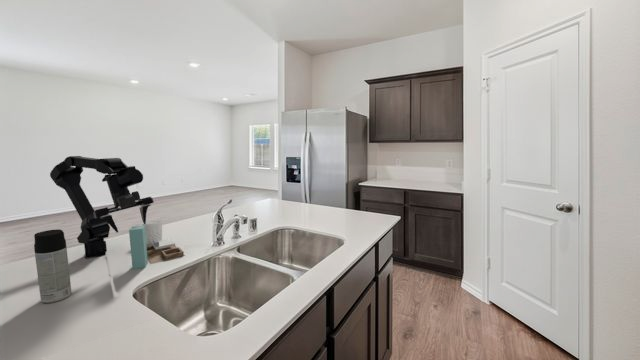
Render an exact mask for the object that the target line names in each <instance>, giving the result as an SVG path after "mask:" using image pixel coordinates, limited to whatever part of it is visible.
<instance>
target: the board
mask: <svg viewBox="0 0 640 360" xmlns="http://www.w3.org/2000/svg"><path fill="white" fill-rule="evenodd" d="M146 246H147V258H148V263H149V265H152V264H157V263H160V262H164V261H168V260H169V261H170V260H174V259H177V258H178V259H179V258H182V257H184V256H186V255H185V252H184V251H183V249H182V248H180V247H179V246H178V247H177V246H176V245H175V246H171V247H167V248H162V249H157V250H155V248H154V247H153V245H152V244H151V245H146Z"/></svg>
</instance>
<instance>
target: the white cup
mask: <svg viewBox="0 0 640 360" xmlns="http://www.w3.org/2000/svg"><path fill="white" fill-rule="evenodd" d="M141 226H145V233H146V246H150V245H152V243H153V239H155V238H156V239H157V240H158V241H163V220H162V219H150V220H149V219H148V220H146V224H144V223H143V222H141Z"/></svg>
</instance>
